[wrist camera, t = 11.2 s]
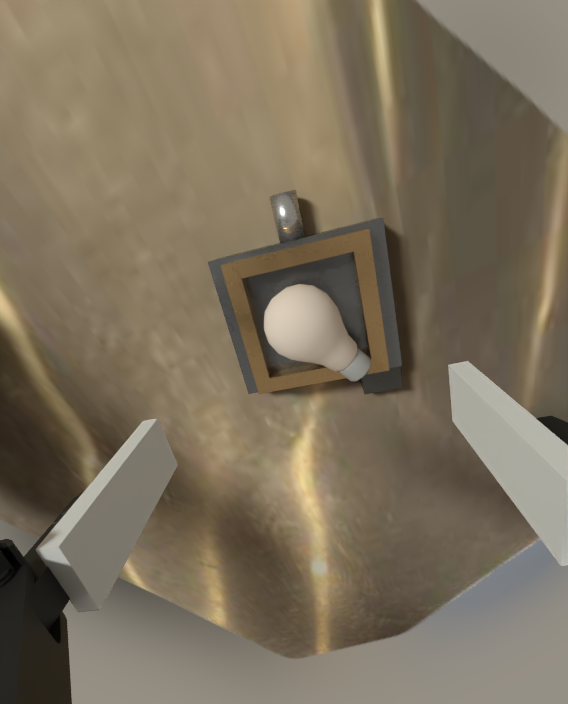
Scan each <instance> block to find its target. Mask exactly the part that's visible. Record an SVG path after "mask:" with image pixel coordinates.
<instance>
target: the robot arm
mask: <svg viewBox="0 0 568 704" xmlns="http://www.w3.org/2000/svg"><path fill="white" fill-rule="evenodd" d="M448 367H449V380H450V393H451V407H452V420H453V422H454V424H455V425H456V426H457V428H458V429H459V430H460V432H461V433H462V434H463V436H464V437H465V438H466V440H467V441H468V442H469V444H470V445H471V446H472V448H473V449H474V450H475V452H476V453H477V454H478V456H479V457H480V458H481V460H482V461H483V462H484V464H485V465H486V466H487V468H488V469H489V470H490V472H491V473H492V474H493V476H494V477H495V478H496V480H497V481H498V482H499V484H500V485H501V487H502V488H503V489H504V491H505V492H506V493H507V495H508V496H509V497H510V499H511V500H512V501H513V503H514V504H515V505H516V507H517V508H518V509H519V511H520V512H521V513H522V515H523V516H524V517H525V519H526V520H527V521H528V523H529V524H530V525H531V527H532V528H533V529H534V531H535V532H536V533H537V535H538V536H539V537H540V539H541V540H542V541H543V543H544V544H545V545H546V547H547V548H548V549H549V551H550V552H551V553H552V555H553V556H554V558H555V559H556V560H557V561H558V563H559V564H560V566H568V423H567V422H565V421H563V420H560V419H558V418H556V417H553V416H547V417H540V418H535V417H533V416H532V415H531V414H530V413H529V412H528V411H526V410H525V409H524V408H523V407H522V406H520V405H519V404H518V403H517V402H516V401H514V400H513V399H512V398H511V397H510V396H509V395H507V394H506V393H505V392H504V391H503V390H501V389H500V388H499V387H498V386H497V385H495V384H494V383H493V382H492V381H491V380H490V379H488V378H487V377H486V376H485V375H484V374H482V373H481V372H480V371H479V370H478V369H476V368H475V367H474V366H473V365H472V364H471V363H469V362H468V361H466V362H461V363H455V364H450V365H448ZM177 466H178V464H177V462H176V459H175V457H174V455H173V452H172V450H171V448H170V445H169V443H168V441H167V438H166V436H165V434H164V431H163V429H162V427H161V424H160V422H159V420H158V418H157V419H151V420H146V421H143V422H142V423H141V424H140V425H139V426H138V428H137V429H136V430H135V431H134V432H133V434H132V435H131V436H130V437H129V438H128V440H127V441H126V442H125V443H124V444H123V446H122V447H121V448H120V449H119V450H118V452H117V453H116V454H115V455H114V456H113V458H112V459H111V460H110V461H109V462H108V463H107V465H106V466H105V467H104V468H103V469H102V471H101V472H100V473H99V474H98V475H97V477H96V478H95V479H94V480H93V481H92V483H91V484H90V485H89V486H88V487H87V489H85V490H84V491H83V492H82V493H81V494H79V495H78V496H77V497H76V498H74V499H73V500H72V501H71V502H70V503H69V505H68V506H67V507H66V508H65V509H64V511H63V512H62V514H60V515H59V516H58V518H57V519H56V520H55V521H54V524H52V525H51V526H50V527H49V528H48V529H47V530H46V532H45V533H44V534H43V535H42V536H41V537H40V539H39V540H38V541H37V542H36V543H35V544H34V546H33V547H32V548H31V549H30V550H29V552H28V553H27V554H26V555H25V556H24V557H23V556H22V554H21V553H20V551H19V550H18V549H17V547H16V546H15V544H14V543H13V541H12V540H9V539H4V540H0V704H72V701H71V700H72V699H71V683H70V665H69V648H68V631H67V619H66V617H65V615H64V613H63V612H62V611H63V609H64V607H65V605H66V604H67V603H68V601H69V600H70V601H71V603H72V604H73V605H74V607H75V608H76V610H77V611H78V612H85V611H96V610H100V609H101V607H102V605H103V603H104V602H105V600H106V598H107V596H108V594H109V592H110V590H111V589H112V587H113V585H114V583H115V581H116V579H117V577H118V576H119V574H120V572H121V570H122V568H123V566H124V564H125V563H126V561H127V559H128V557H129V555H130V553H131V551H132V550H133V548H134V546H135V544H136V542H137V540H138V538H139V537H140V535H141V533H142V531H143V529H144V527H145V525H146V523H147V522H148V520H149V518H150V516H151V514H152V512H153V510H154V509H155V507H156V505H157V503H158V501H159V499H160V497H161V496H162V494H163V492H164V490H165V488H166V486H167V484H168V483H169V481H170V479H171V477H172V475H173V473H174V471H175V470H176V468H177Z"/></svg>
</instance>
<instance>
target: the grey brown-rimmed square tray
mask: <svg viewBox="0 0 568 704" xmlns="http://www.w3.org/2000/svg"><path fill="white" fill-rule="evenodd" d="M270 202H271V206H272V210H273V215H274V219H275V223H276V227H277V232H278V236H279V240H280V243H279V244H275V245H271V246H267V247H263V248H259V249H255V250H251V251H247V252H243V253H239V254H235V255H231V256H227V257H223V258H219V259H216V260H213V261H210V262H208V264H209V267H210V271H211V274H212V277H213V280H214V284H215V287H216V290H217V293H218V296H219V300H220V303H221V306H222V309H223V313H224V316H225V319H226V322H227V325H228V329H229V332H230V335H231V338H232V342H233V345H234V348H235V351H236V354H237V358H238V361H239V364H240V367H241V370H242V374H243V377H244V380H245V383H246V387H247V390H248V393H249V394H251V393H256V392H258V393H259V394H262V393H268V392H273V391H279V390H284V389H290V388H295V387H301V386H306V385H312V384H317V383H323V382H328V381H334V380H339V379H345V378H346V377H345V376H343V375H342V374H341V373H339V372H338V371H332V370H330V369H328V368H327V367H325V366H323V365H320V364H316V363H310V362H303V361H296V360H291V359H289V358H286V357H284V356H282V355H280V354H278V353H277V352H276V351H275V349H274V348H273V347H272V346H271V345H270V344H269V342H268V340H267V337H266V334H265V331H264V314H265V310H266V309H267V307H268V305H269V303H270V301H271V299H272V298H274V297H275V296H276V295H277V294H278V293H280V292H281V291H282V290H284V289H285V288H286V287H290V286H293V285H297V284H305V285H313V286H315V287H317V288H319V289H320V290H322V291H324V292H326V293H327V294H328V296H329V297H330V298H331V299H332V301H333V302H334V303H335V305H336V306H337V307H338V310H339V313H340V315H341V318H342V321H343V324H344V326H345V328H346V331H347V333H348V335H349V336H350V337H351V338H352V339H353V340H354V341H355V343H356V344H357V348H358V349H360V350H361V351H362V352H363V353H365V354H366V355H367V356H368V357H369V358H370V359H371V366H370V368H369V371H368V373H367V375H366V376H365V377H363V378H361V383H362V387H363V390H364V393H365V394H370V393H376V392H381V391H387V390H393V389H399V388H403V383H402V376H401V368H400V366H402V360H401V352H400V344H399V337H398V329H397V321H396V313H395V305H394V298H393V290H392V282H391V274H390V266H389V259H388V251H387V243H386V235H385V227H384V220H383V218H379V219H374V220H370V221H366V222H362V223H358V224H354V225H350V226H346V227H342V228H338V229H334V230H330V231H326V232H322V233H318V234H314V235H310V236H306V237H305V233H304V228H303V223H302V218H301V214H300V209H299V204H298V199H297V194H296V190H293V191H288V192H283V193H280V194H277V195H274V196H271V197H270Z"/></svg>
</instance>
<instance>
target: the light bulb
mask: <svg viewBox="0 0 568 704" xmlns="http://www.w3.org/2000/svg"><path fill="white" fill-rule="evenodd" d="M264 331H265V334H266V337H267V340H268V342H269V344H270V345H271V346H272V347H273V348H274V349H275V351H276V352H277V353H278V354H280V355H282V356H284V357H286V358H289V359H291V360H296V361H303V362H310V363H316V364H320V365H323V366H325V367H327V368H328V369H330V370H332V371H338V372H339V373H341V374H342V375H343V376H345V377H346V378H347V379H349V380H350V381H353V382H354V381H358V380H359V379H361V378H363V377H365V376H366V375H367V373H368V371H369V368H370V366H371V359H370V358H369V357H368V356H367V355H366V354H365V353H363V352H362V351H361V350H360V349H358V348H357V344H356V343H355V341H354V340H353V339H352V338H351V337H350V336H349V335H348V333H347V331H346V328H345V326H344V324H343V321H342V318H341V315H340V313H339V310H338V307H337V306H336V305H335V303H334V302H333V301H332V299H331V298H330V297H329V296H328V294H327V293H326V292H324V291H322V290H320V289H319V288H317V287H315V286H313V285H305V284H297V285H293V286H290V287H286V288H285V289H284V290H282V291H281V292H280V293H278V294H277V295H276V296H275V297H274V298H272V299H271V301H270V303H269V305H268V307H267V309H266V310H265V314H264Z"/></svg>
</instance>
